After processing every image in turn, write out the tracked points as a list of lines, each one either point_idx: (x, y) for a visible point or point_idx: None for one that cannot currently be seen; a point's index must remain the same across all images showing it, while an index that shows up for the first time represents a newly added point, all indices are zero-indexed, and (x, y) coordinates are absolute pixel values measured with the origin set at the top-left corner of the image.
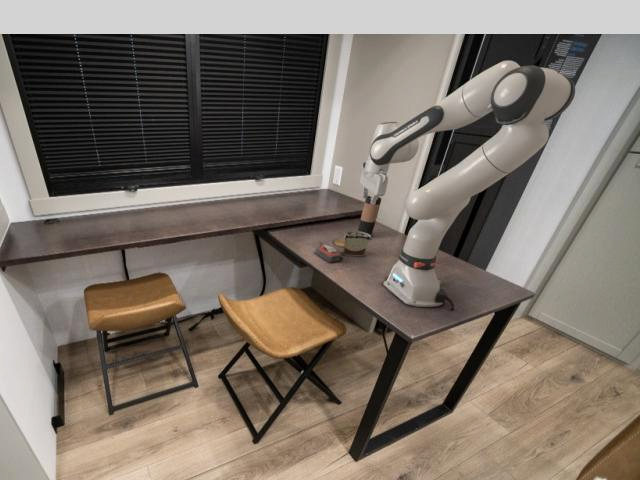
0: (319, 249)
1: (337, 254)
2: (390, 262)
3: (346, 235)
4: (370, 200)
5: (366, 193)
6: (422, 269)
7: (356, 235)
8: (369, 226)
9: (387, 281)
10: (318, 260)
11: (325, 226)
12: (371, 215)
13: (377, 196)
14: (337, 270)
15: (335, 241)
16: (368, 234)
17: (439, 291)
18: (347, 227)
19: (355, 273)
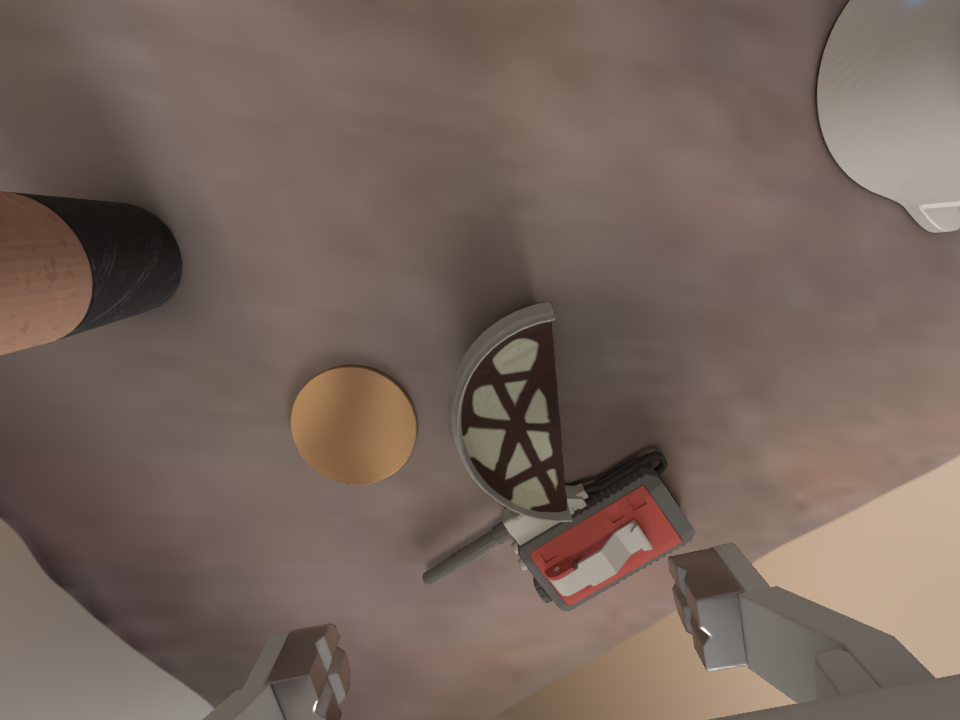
0: (590, 596)
1: (657, 500)
2: (601, 125)
3: (550, 507)
4: (698, 654)
5: (277, 704)
6: None
7: (531, 431)
8: (116, 252)
9: (938, 209)
10: (657, 570)
11: (68, 528)
12: (31, 271)
13: (905, 676)
14: (772, 476)
15: (351, 476)
16: (509, 335)
17: None
18: (9, 374)
19: (799, 380)
